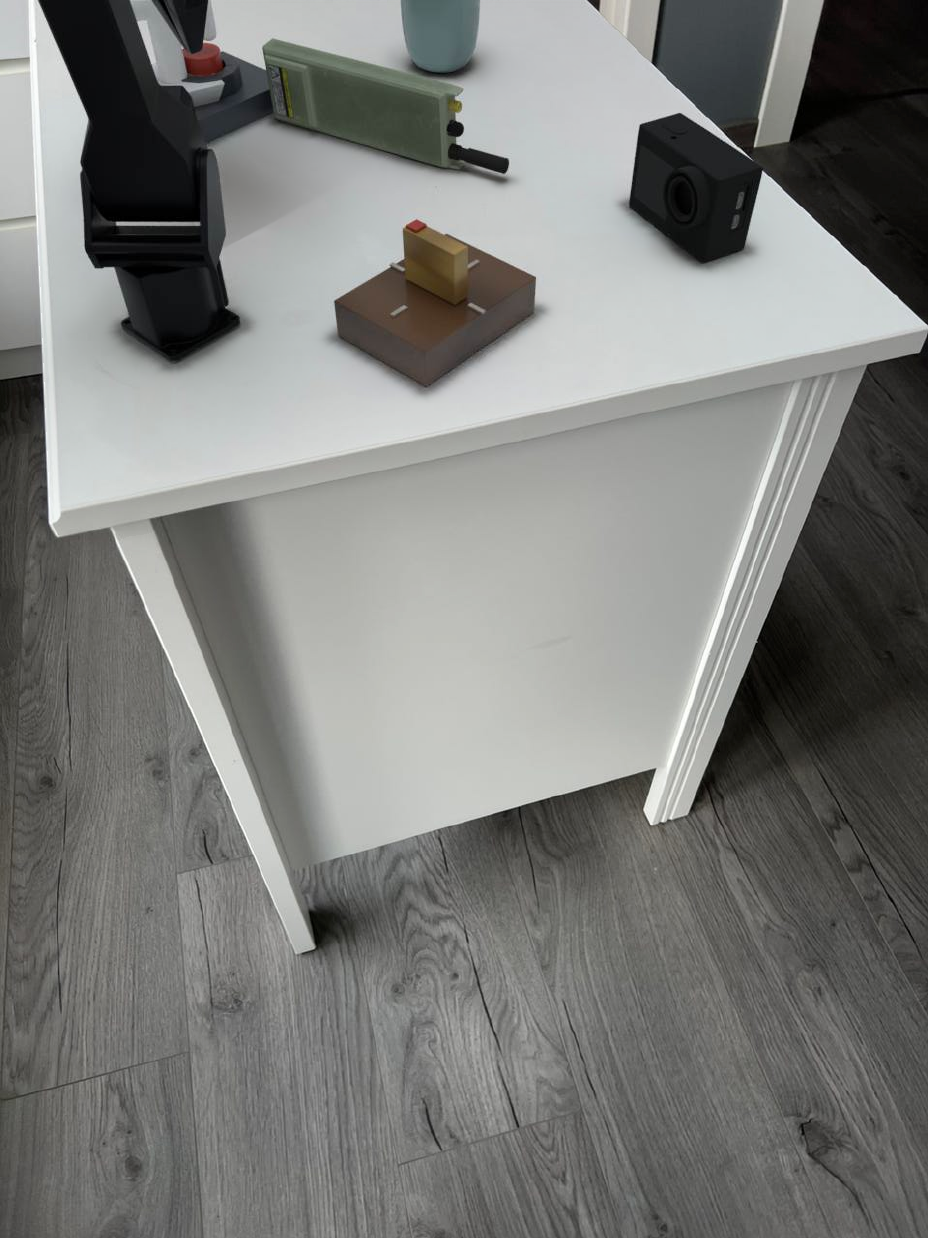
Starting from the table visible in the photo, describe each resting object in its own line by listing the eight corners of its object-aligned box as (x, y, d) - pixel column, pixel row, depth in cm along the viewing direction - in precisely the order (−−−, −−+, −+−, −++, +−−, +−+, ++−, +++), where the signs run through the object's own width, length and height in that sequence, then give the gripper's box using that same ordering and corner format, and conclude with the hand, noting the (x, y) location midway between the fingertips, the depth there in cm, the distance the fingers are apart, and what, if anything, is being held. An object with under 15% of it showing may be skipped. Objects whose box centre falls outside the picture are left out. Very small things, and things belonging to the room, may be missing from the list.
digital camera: (615, 208, 85) (625, 125, 79) (667, 192, 87) (680, 109, 81) (690, 268, 79) (706, 183, 74) (744, 249, 81) (763, 165, 75)
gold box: (468, 297, 72) (468, 243, 68) (454, 305, 71) (454, 251, 68) (418, 270, 74) (416, 216, 70) (404, 278, 73) (402, 224, 70)
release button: (201, 82, 92) (197, 62, 91) (176, 70, 94) (172, 50, 92) (231, 69, 94) (227, 49, 93) (207, 58, 95) (203, 38, 94)
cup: (471, 84, 100) (471, -29, 92) (395, 77, 101) (389, -35, 93) (485, 51, 104) (487, -59, 97) (413, 45, 105) (409, -64, 98)
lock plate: (427, 387, 70) (425, 350, 68) (336, 335, 74) (332, 297, 71) (535, 312, 76) (537, 275, 73) (446, 267, 79) (445, 230, 77)
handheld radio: (290, 107, 97) (516, 171, 89) (269, 122, 95) (498, 189, 87) (278, 33, 91) (517, 94, 83) (256, 48, 90) (498, 112, 82)
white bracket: (243, 120, 95) (211, -63, 83) (146, 144, 92) (99, -42, 80) (216, 91, 99) (181, -88, 87) (122, 113, 96) (74, -69, 84)
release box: (195, 148, 92) (185, 103, 89) (129, 114, 96) (118, 71, 93) (292, 103, 97) (286, 59, 94) (226, 73, 101) (219, 30, 98)
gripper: (331, -206, 65) (352, 51, 77) (155, -247, 73) (199, -8, 85) (196, -171, 60) (242, 99, 72) (22, -219, 68) (89, 31, 80)
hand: (194, 51), depth 77 cm, fingers closed
